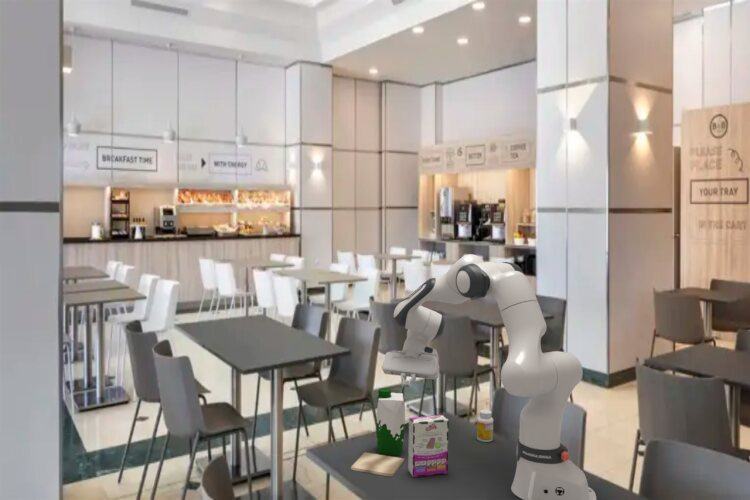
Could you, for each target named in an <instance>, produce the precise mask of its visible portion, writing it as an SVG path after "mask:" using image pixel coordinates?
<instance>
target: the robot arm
mask: <svg viewBox="0 0 750 500" xmlns="http://www.w3.org/2000/svg"><path fill="white" fill-rule="evenodd" d="M469 299H472V300H473V299H474V300H475V299H476V300H477V299H495V301H496V303H497V305H498V309H499V313H500V315H501V317H502V318H501V319H502V321H503V325H504V329H505V331H506V335H507V340H508V353H507V358H506V360H505V362H504V364H503V365H502V367H501V371H500V381H501V383H502V386H503V388H504V389H505V391H506V392H507V393H508V394H509V395H512V396H515V397H524V398H530V397H531V398H530V399H529V401H528V402H527V404H525V406H524V407H523V408H522V409H521V411H520V415H519V433H518V435H519V437H518V439H517V443H516V469H515V474H514V478H513V482H512V484H511V487H510V489H511V492H512V493H513V495H515V496H516V497H518V498H520V499H522V500H597V494H596V492H595V490H593V488H591V487H590V486H589V484H588V479H587V477H586V475H585V472H584V471H583V470H582V469H581V468H580V467H579V466H577V465H576V464H575V463H573V462H572V461H571V460H570V454H569V450H568V446H567V444H565V445H564V444H562V443H561V438H562V437H561V435H562V423H563V422H562V421H563V417H564V413H565V408H566V406H567V403H568V401H569V398H570V396H571V394H572V392H573V390H574V389H575V388H576V386H578V384H580V383H581V381H582V379H583V371H584V370H583V366H582V362H581V361H580V359H579V358H578V357H577V356H576V355H574V353H572V352H571V353H570V352H566V351H561V350H560V351H558V350H555V351H554V350H553V351H548V352H543V351H542V345H541V341H542V337H543V336H544V335H545V333H546V332H547V323H546V320H545V318H544V315H543V312H542V309H541V306H540V303H539V301H538V298H537V296H536V293H535V291H534V289H533V286H532V285H531V283H530V282H529V279H527V277H526V275H525V273H524V272H523V270H522V268H521V267H520V266H519V265H518V264H516V263H514V262H510V261H509V262H508V261H501V262H497V261H484V260H483V258H481V257H480V256H478V255H476V254H472V253H471V254H469V253H468V254H465V255H463V256H462V257H461V258H459V259H458V260H457V261H455V262H454V263H453V265H452V266H451V267H450V268H449V269H448V271H447V272H446V273H444V274H442V275H441V276H438V277H432V278H429V279H427V280H426V281H424V283H422V284H421V285H420V286H419V287H418V288H417V289H415V290H414V291H413V292H412V293H410V295H409V296H407V297H406V298H404V299H402V300H401V301H400V302H399V303H398V304H397V305H395V306H396V307H395V309H394V310H393V315H392V318H393V320H394V322H395V324H396V326H397V327H398V328H401V329H402V328H403V329H406V330H407V331H406V339H405V340H404V342H403V346H402V347H403V348H402V350H395V349H392V350H388V351H386V352H385V356H384V360H383V362H382V365H381V370H382V371H383V374H385V375H392V376H399V377H401V379H402V383H401V386H402V387H404V388H412V384H413V383H414V382H415V381H417V378H418V379H426V380H437V379H438V378H439V375H440V364H439V363H440V362H439V360H440V359H439V358H440V357H439V353H438V351H437V349H436V348H433V347H430V346H429V343H430V342H433V341H436V340H438V339H439V338H440V337H441V336H442V335H443V332H444V328H445V324H446V323H445V322H446V321H445V319H444V316H443V315H442V314H441V313H440V312H437V311H435V310H432V309H430V308H428V307H425V306H423V304H424V303H425V302H430V301H433V302H441V303H445V304H450V305H461V304H463V303H465V302H466V301H468V300H469ZM407 377H410V379H409V380H406V379H407Z"/></svg>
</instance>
